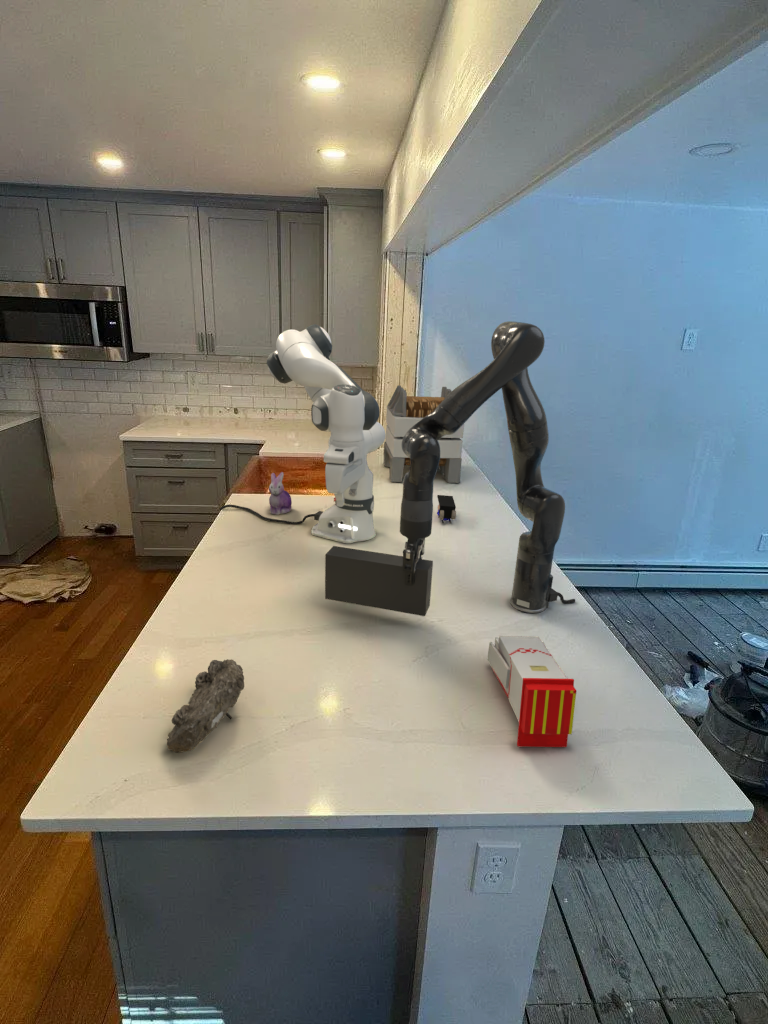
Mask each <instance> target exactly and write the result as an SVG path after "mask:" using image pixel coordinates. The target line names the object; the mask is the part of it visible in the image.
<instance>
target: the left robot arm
mask: <svg viewBox="0 0 768 1024" xmlns="http://www.w3.org/2000/svg"><path fill="white" fill-rule="evenodd" d="M275 349H276V350H275V351H272V352H271V353H270V354H269V355H268V356H267V359H266V365H267V370H268V372H269V374H270V375H271V377H272V378H273V379H275V380H276V381H278V382H279V383H280V384H284V385H285V384H289V383H291V382H294V383H295V384H297V385H298V386H302V387H303V388H304V390H305V391H306V393H307V395H308V397H309V399H310V400H311V402H312V405H311V411H310V412H311V413H310V414H311V415H310V416H311V422H312V424H313V425H314V426H315V428H317V429H318V430H319V431H321V432H326V433H327V432H328V433H329V432H330V435H329V437H328V444H327V445H328V447H327V449H326V451H325V452H324V454H323V462H324V463H326V464H325V467H324V468H325V469H324V473H325V475H324V477H325V488H326V491H327V493H328V494H332V495H334V497H333V502H334V504H333V505H331V506H329V507H328V508H326V509H325V510H318V511H317V512H315V513H309V514H307V515H304V517H303V518H302V520H299V521H289V520H285V519H275V518H269V517H266V516H264V515H262V514H260V513H259V512H257V511H255V510H253V509H251V508H249V507H246V506H242V505H241V506H240V505H236V504H225V505H223V506H221V507H220V508H219V511H222V510H224V509H226V508H234V509H239V510H243V511H244V510H245V511H247V512H249V513H252V514H254V515H255V516H257V517H258V518H259V519H262V520H263V521H268V522H271V523H281V524H287V525H302V524H303V523H305V522H306V520H307V519H308V518H313V520H314V521H316V522H317V523H315V524H314V525H313V526H312V528H311V530H310V533H311V536H315V537H319V538H323V539H326V540H330V541H336V542H339V543H343V544H352V543H357V542H365V541H368V540H372V539H373V538H375V537H376V535H377V532H376V528H375V523H374V513H373V512H374V509H375V496H374V473H373V471H372V470H371V469H370V468H369V467H370V466H369V464H368V459H367V458H368V454H371V453H373V452H375V451H377V450H378V449H379V448H380V447H381V446H382V445H384V442H386V441H385V438H386V429H385V427H384V426H383V425H382V424H381V423H380V422H378V420H379V418H380V406H379V402H378V401H377V400H376V398H375V397H374V396H373V395H372V394H371V393H370V392H368V391H365V390H364V389H363V388H362V387H361V386H360V384H358V383H357V382H356V381H355V380H354V379H353V378H352V377H351V376H350V375H349V373H347V372H346V370H344V369H343V368H342V367H341V366H340V365H338V364H336V363H334V362H333V361H331V358H330V355H331V354H332V351H333V344H332V339H331V336H330V334H329V333H328V332H327V330H326V329H325V328H323V326H320V325H319V324H317V323H313V324H310V325H308V326H306V327H305V329H303V330H301V331H299V330H297V329H287V330H286V329H285V330H284V331H282V332H281V333H280V334H279V335H278V337H277V339H276V342H275Z"/></svg>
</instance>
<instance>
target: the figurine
mask: <svg viewBox="0 0 768 1024" xmlns="http://www.w3.org/2000/svg"><path fill="white" fill-rule="evenodd" d="M284 476H285V475H284V472H283V471H281V472H280V473H279V474H278V475H276V474H275V473H274V472H272V473H271V474H270V484H269V486H268V492H269V493H270V495H269V498H268V504H269V507H270V508H269V513H270V514H271V515H281V514H286V513H289V512H291V510H292V503H293V501H292V496H291V494H290V493H289V492H288V491H287V490H285V487H284V484H283V479H284Z"/></svg>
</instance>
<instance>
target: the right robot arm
mask: <svg viewBox="0 0 768 1024" xmlns="http://www.w3.org/2000/svg"><path fill="white" fill-rule="evenodd" d="M545 342H546V341H545V335H544V332H543V330H542V329H541V328H540V327H538V326H537V325H535V324H532V323H529V322H523V321H522V322H521V321H514V320H513V321H504V322H501V323H500V324H498V326H496V328H495V329H494V331H493V333H492V336H491V342H490V346H491V353H492V357H493V360H491V362H490V363H489V364H488V365H486V366H485V367H484V368H483V369H482V370H480V371H479V372H477V373H476V374H475V375H473V376H472V377H469V378H468V379H467V380H465V381H463V382H462V383H460V384H459V385H457V386H456V387H455V388H453V390H451V391H452V392H451V393H450V394H449V395H448V396H447V397H446V398H445V399H444V400H443V401H442V402H441V403H440V404H439V405H438V406H437V407H436V409H435V410H434V411H433V412H432V413H430V414H429V415H427V416H426V417H424V418H423V419H422V420H420V421H419V422H417V423H416V424H415V425H414V426H412V427H411V428H410V429H409V430H408V431H407V433H406V434H405V436H404V437H403V440H402V444H401V445H402V450H403V452H404V454H405V455H406V456H408V457H409V458H410V459H411V462H410V466H409V470H408V471H407V472H405V474H404V476H403V480H402V482H403V483H402V496H401V497H402V498H401V503H400V518H399V533H400V534H401V535H402V536H403V537H405V538H406V539H407V541H405V543H404V549H403V550H402V556H403V572H405V585H408V586H413V585H414V581H415V571H416V563H418V562H419V559H423V556H424V554H425V545H426V538H429V537H430V536H431V535H432V527H433V515H434V514H433V513H434V501H433V499H434V498H433V497H434V481H435V478H436V475H437V472H438V465H439V461H440V444H439V442H438V440H439V439H440V438H442V437H443V436H444V435H451V434H454V433H455V432H456V431H457V430H458V429H459V428H460V427H461V426H462V425H463V424H464V425H465V423H466V422H467V421H468V420H470V418H471V417H472V416H473V415H474V414H475V412H477V411H478V409H480V408H481V407H482V406H483V405H484V404H485V403H486V402H487V401H488V400H489V399H491V397H493V396H494V395H495V394H496V393H497V392H498V391H500V390H501V392H502V400H503V405H504V411H505V416H506V425H507V431H508V436H509V441H510V442H509V443H510V447H511V453H512V459H513V460H512V461H513V466H514V472H515V473H514V474H515V486H516V487H515V488H516V489H515V491H516V503H517V508H518V511H519V513H520V514H521V515H522V517H523V518H525V519H527V520H528V521H531V522H532V527H531V530H529V531H525V532H522V533H521V534H520V535H519V538H518V546H517V553H516V561H515V568H514V574H513V575H514V576H513V582H512V590H511V597H510V605H511V606H512V607H513V608H514V609H516V610H518V611H520V612H522V613H523V612H524V613H527V614H538V613H542V612H544V611H545V610H546V609H548V608H549V606H550V602H551V603H552V602H557V601H558V597H559V600H560V602H561V604H565V605H566V604H567V605H568V604H572V603H576V598H571V599H565V598H564V595H563V594H562V593H561V592H558V591H556V590H555V589H553V588H552V587H553V580H554V576H553V575H552V574H551V572H552V567H553V561H554V554H555V547H556V544H557V543H558V542H559V540H560V536H561V532H562V528H563V523H564V518H565V513H566V502H565V498H564V497H563V496H562V495H561V494H559V493H557V492H555V491H553V490H551V489H549V488H547V487H545V485H544V482H543V477H542V470H541V469H542V468H541V467H542V462H543V458H544V457H545V455H546V452H547V449H548V446H549V441H550V435H549V434H550V433H549V425H548V418H547V414H546V411H545V408H544V406H543V404H542V402H541V401H542V400H540V397H539V395H538V393H537V391H536V390H535V388H534V385H533V384H532V381H531V378H530V373H529V369H528V368H529V367H531V365H533V364H534V363H535V362H536V361H537V360H538V359H539V358H540V357H541V355H542V353H543V351H544V348H545ZM414 558H416V559H414ZM408 565H411V567H409V566H408Z"/></svg>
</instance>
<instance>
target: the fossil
mask: <svg viewBox="0 0 768 1024" xmlns="http://www.w3.org/2000/svg"><path fill="white" fill-rule="evenodd" d="M243 670H244V669H243V667H242V665H240V664H237V662H236V661H235V660H234V659H232V658H231V659H227V658H226V659H224V660H223V661H222V660H217V659H212V660H211V661H210V663H209V665H208V666H207V671H201V672H199V673H198V674H197V675H196V676H195V680H194V684H195V685H194V687H195V689H194V690H193V693H192V694H191V697H190V698H189V700H188V704H184V705H182V706H181V707H180V709H177V710H176V711H175V713H174V715H173V716H172V718H171V723H172V724H173V727H172V730H171V731H170V732H168V734H167V738H166V741H167V742H166V745H167V749H168V750H169V751H173V752H174V753H176V754H178V753H182V752H188V751H189V752H192V751H193V750H195V748H196V747H197V746H199V744H200V743H201V742H203V741H204V740H205V739H206V738H207V737H208V736H209V735H210V734H211V733H212V732H214V730H215V729H217V727H218V726H219V724H220V722H221V721H222V720H223V719H224V718H225V716H226V717H227V719H229V720H233V717H232V715H230V714H229V710H230V709H231V708H234V706H235V704H236V703H237V702H238V699H239V697H240V695H241V693H242V691H243V690H245V689H244V688H245V675H244V671H243Z"/></svg>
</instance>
